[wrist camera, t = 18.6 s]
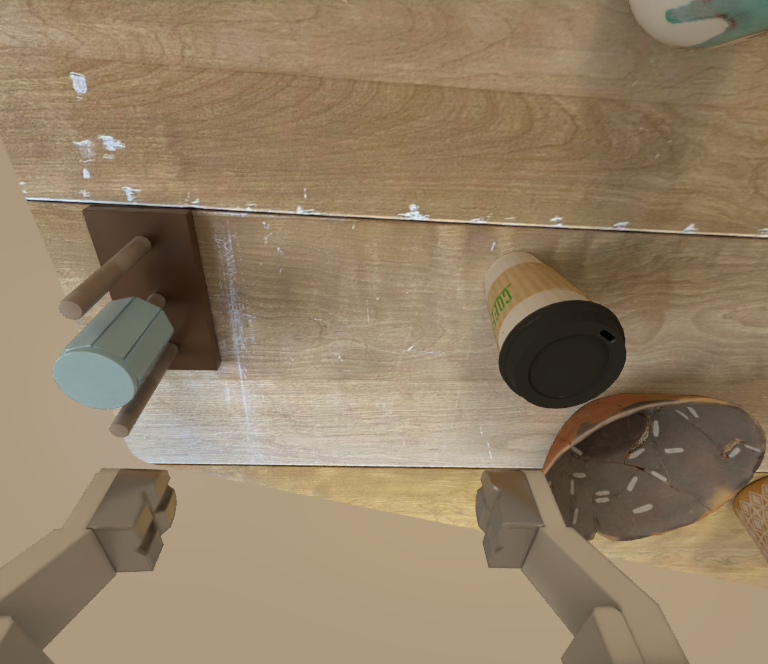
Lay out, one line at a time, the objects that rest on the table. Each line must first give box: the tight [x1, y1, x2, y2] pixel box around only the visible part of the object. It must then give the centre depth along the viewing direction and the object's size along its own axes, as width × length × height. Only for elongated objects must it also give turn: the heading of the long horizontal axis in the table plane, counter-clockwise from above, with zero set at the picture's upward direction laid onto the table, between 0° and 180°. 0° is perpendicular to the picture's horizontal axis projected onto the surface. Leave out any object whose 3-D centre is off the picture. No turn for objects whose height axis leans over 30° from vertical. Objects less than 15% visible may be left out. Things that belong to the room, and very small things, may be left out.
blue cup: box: [53, 297, 174, 409], centre depth 37 cm, size 6×6×8 cm
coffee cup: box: [484, 252, 626, 409], centre depth 39 cm, size 10×10×15 cm
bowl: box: [542, 393, 766, 541], centre depth 54 cm, size 25×25×10 cm
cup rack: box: [58, 205, 221, 437], centre depth 39 cm, size 9×18×14 cm, turn 177°
